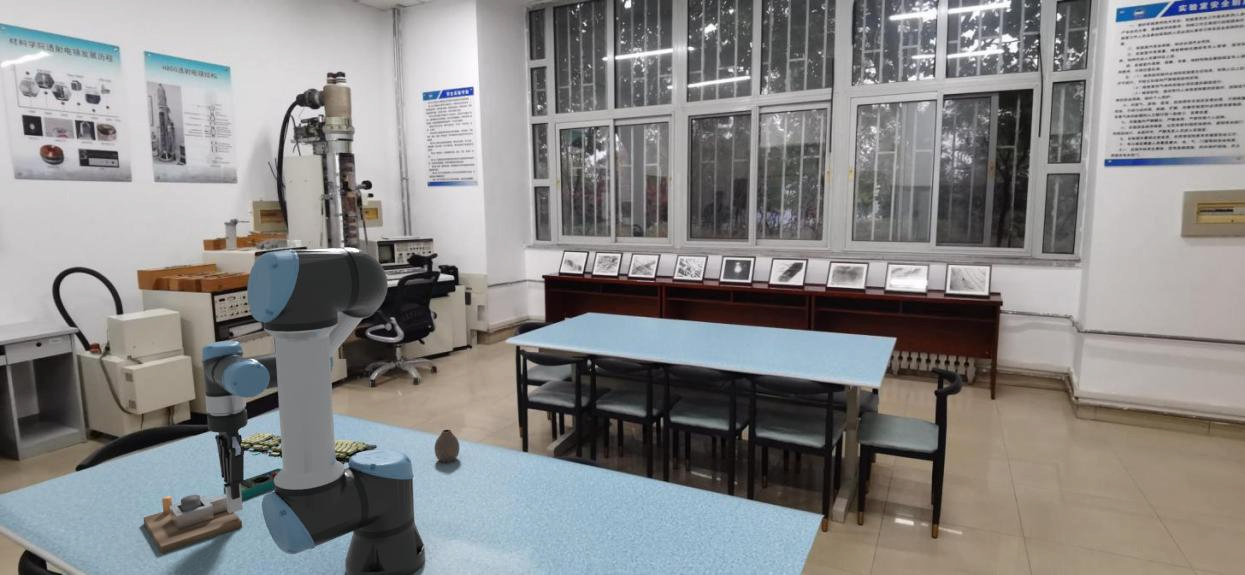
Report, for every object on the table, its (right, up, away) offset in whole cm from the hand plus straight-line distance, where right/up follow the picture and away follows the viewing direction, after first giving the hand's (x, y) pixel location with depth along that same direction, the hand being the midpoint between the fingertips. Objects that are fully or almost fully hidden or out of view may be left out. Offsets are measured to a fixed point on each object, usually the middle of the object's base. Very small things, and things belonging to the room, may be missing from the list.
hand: (235, 510), depth 143 cm
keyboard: (-9, +1, +45) cm, 46 cm away
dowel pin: (-17, -1, +3) cm, 18 cm away
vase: (+38, +1, +37) cm, 53 cm away
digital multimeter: (-5, -2, +19) cm, 20 cm away
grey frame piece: (-7, -1, +2) cm, 8 cm away
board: (-9, -3, 0) cm, 10 cm away
